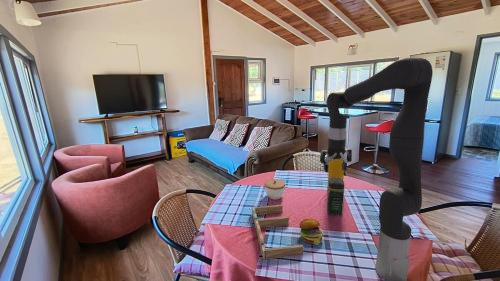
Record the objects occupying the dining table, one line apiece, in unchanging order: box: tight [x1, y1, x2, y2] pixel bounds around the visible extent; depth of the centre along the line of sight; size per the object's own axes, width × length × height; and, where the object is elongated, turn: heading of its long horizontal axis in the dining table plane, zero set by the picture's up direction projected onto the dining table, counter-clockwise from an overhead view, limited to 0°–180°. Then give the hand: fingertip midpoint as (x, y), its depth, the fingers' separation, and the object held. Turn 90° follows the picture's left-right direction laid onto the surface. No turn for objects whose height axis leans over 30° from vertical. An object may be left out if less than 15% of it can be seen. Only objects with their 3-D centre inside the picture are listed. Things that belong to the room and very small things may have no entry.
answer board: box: [251, 204, 304, 260], centre depth 112 cm, size 34×17×5 cm, turn 7°
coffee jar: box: [326, 177, 345, 216], centre depth 126 cm, size 10×8×19 cm
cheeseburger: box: [299, 217, 324, 246], centre depth 107 cm, size 10×11×10 cm
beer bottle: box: [327, 158, 345, 191], centre depth 147 cm, size 9×9×29 cm
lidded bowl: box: [264, 178, 286, 200], centre depth 145 cm, size 13×13×11 cm
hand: (335, 170), depth 110 cm, fingers open, 8 cm apart
